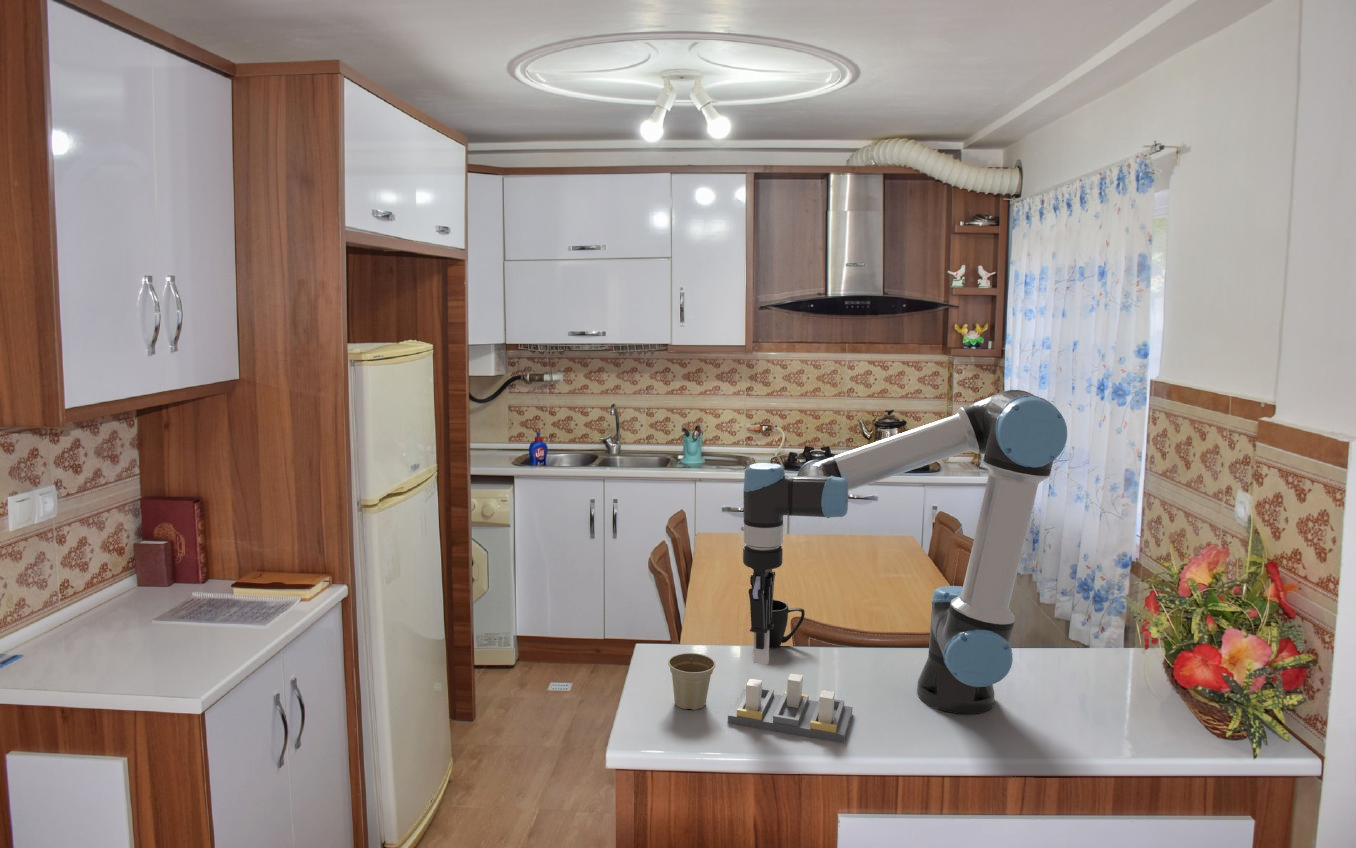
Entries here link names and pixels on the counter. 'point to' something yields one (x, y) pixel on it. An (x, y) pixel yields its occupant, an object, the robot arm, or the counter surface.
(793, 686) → the tab
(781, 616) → the mug
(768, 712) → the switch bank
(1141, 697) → the counter surface
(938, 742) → the counter surface
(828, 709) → the tab
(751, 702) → the tab
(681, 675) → the flower pot
